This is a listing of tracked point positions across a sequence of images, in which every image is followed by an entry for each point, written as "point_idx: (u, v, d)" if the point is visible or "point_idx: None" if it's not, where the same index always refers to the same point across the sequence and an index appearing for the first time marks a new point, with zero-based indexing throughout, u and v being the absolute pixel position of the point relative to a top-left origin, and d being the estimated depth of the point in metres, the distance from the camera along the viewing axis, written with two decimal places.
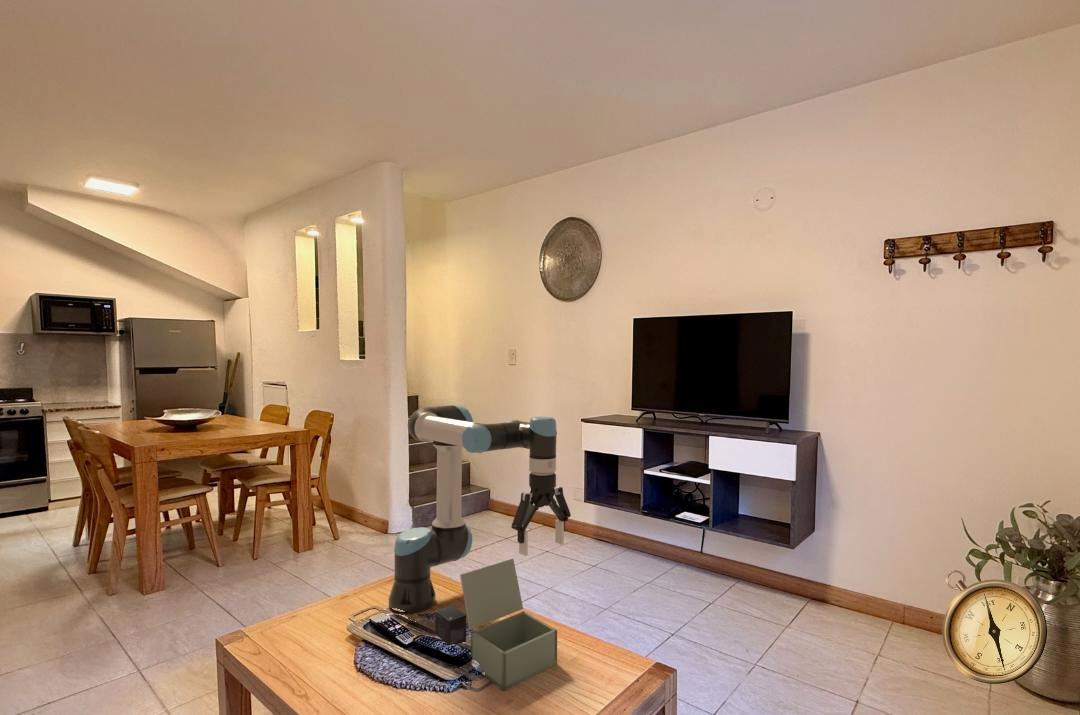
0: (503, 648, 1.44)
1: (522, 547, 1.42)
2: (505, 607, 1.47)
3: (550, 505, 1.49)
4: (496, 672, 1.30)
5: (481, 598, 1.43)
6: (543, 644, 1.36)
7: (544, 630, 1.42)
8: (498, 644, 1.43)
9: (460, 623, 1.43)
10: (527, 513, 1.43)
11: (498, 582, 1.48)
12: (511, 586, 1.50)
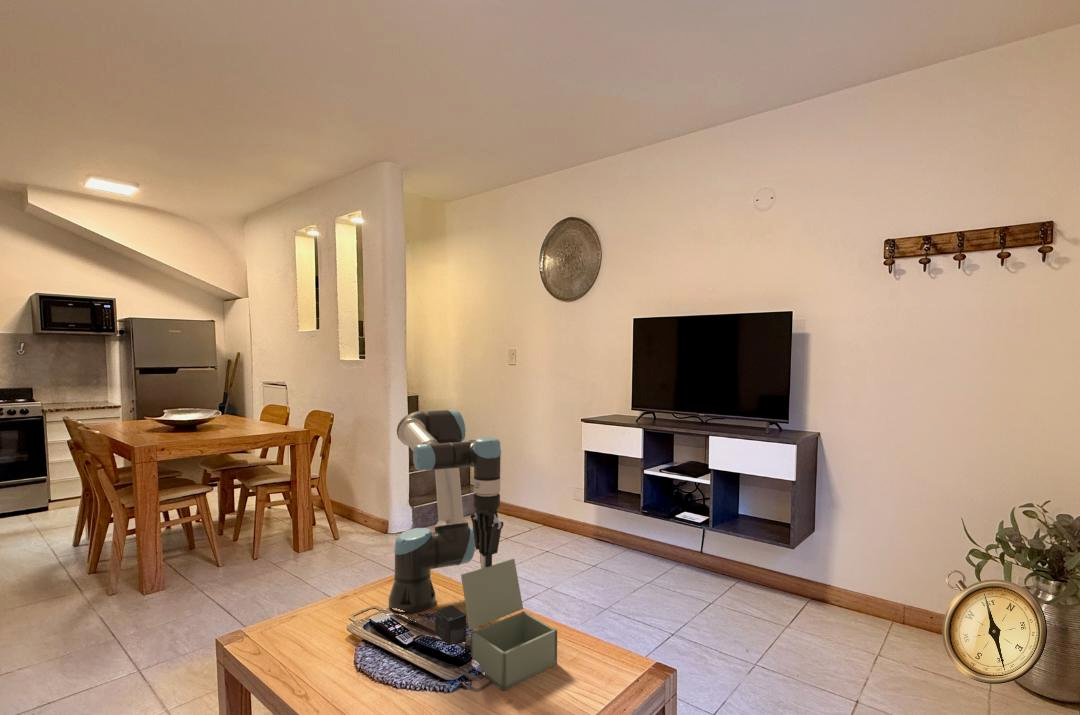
0: (503, 648, 1.44)
1: None
2: (505, 607, 1.47)
3: None
4: (496, 672, 1.30)
5: (481, 598, 1.43)
6: (543, 644, 1.36)
7: (544, 630, 1.42)
8: (498, 644, 1.43)
9: (460, 623, 1.43)
10: None
11: (499, 582, 1.48)
12: (511, 586, 1.50)
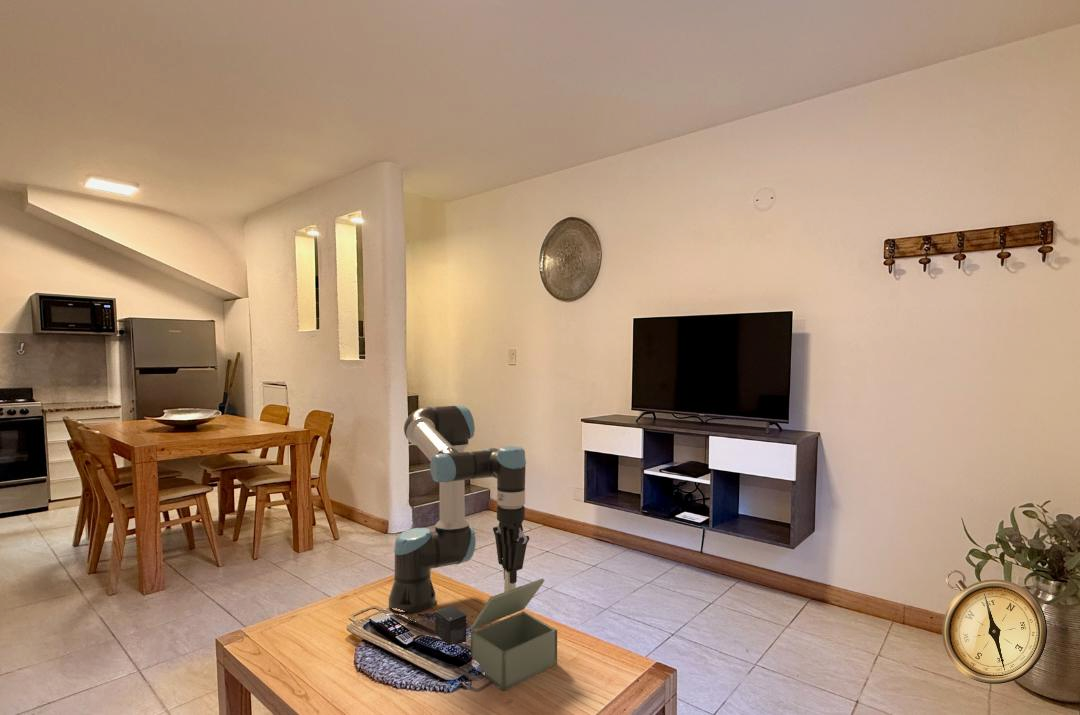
0: (503, 648, 1.44)
1: None
2: (510, 611, 1.45)
3: None
4: (496, 672, 1.30)
5: (495, 610, 1.38)
6: (543, 644, 1.36)
7: (544, 630, 1.42)
8: (498, 644, 1.43)
9: (460, 623, 1.43)
10: None
11: (518, 598, 1.42)
12: (526, 598, 1.45)
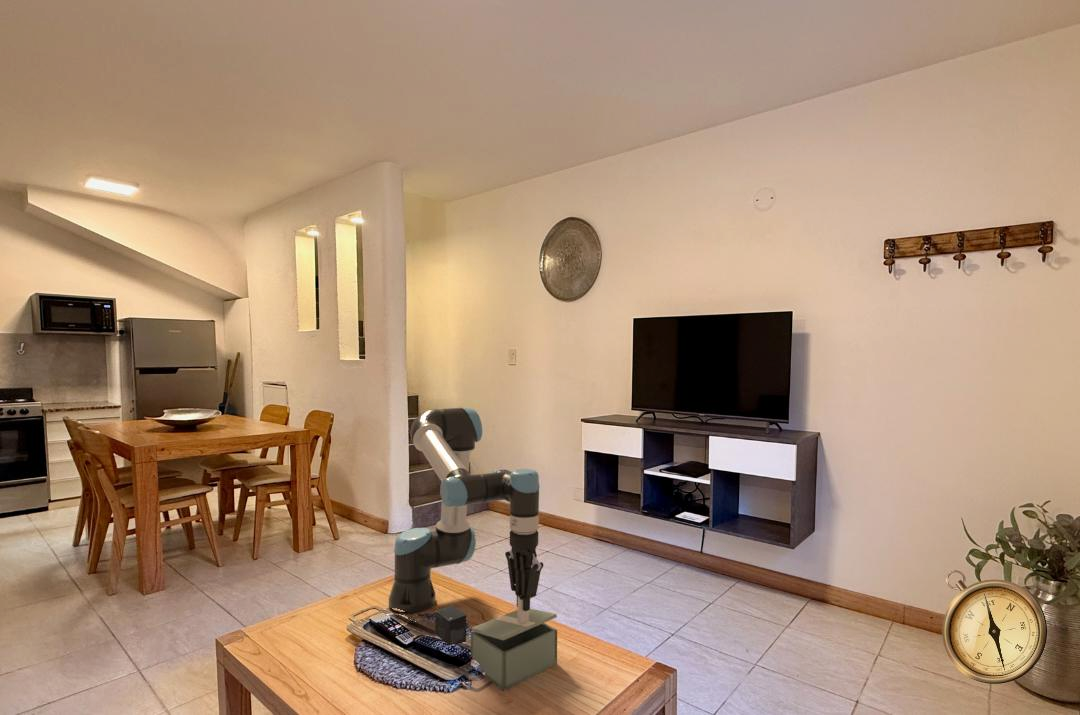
0: (503, 648, 1.44)
1: None
2: None
3: None
4: (496, 672, 1.30)
5: None
6: (543, 644, 1.36)
7: (544, 630, 1.42)
8: (498, 644, 1.43)
9: (460, 623, 1.43)
10: None
11: None
12: None
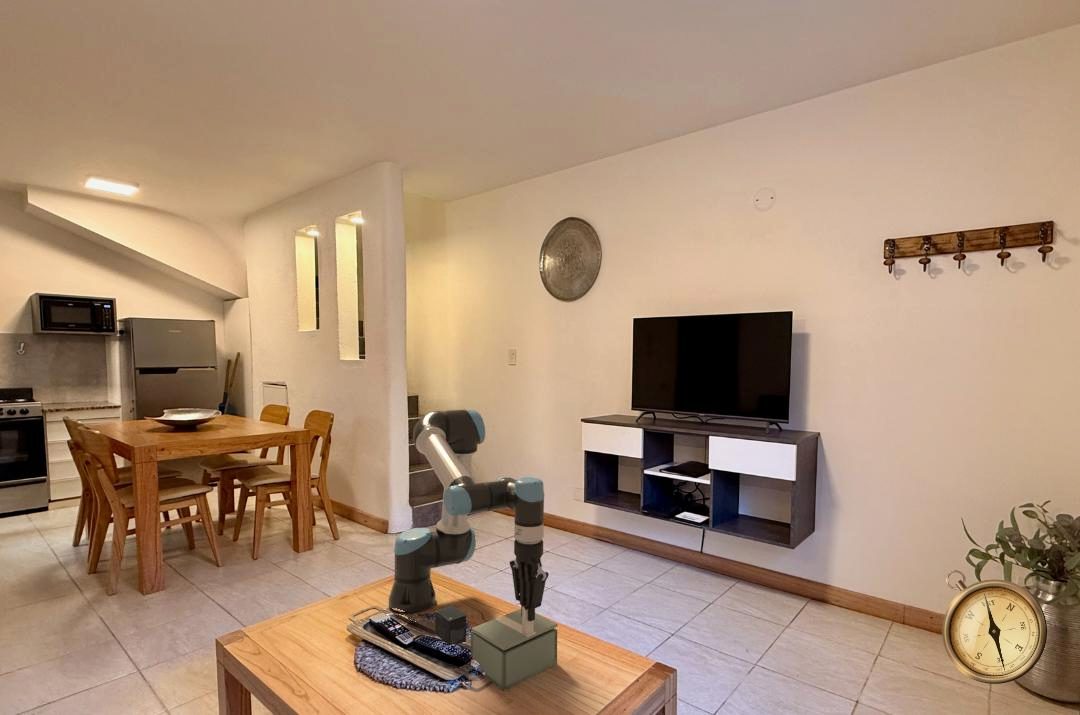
0: None
1: None
2: None
3: None
4: (496, 672, 1.30)
5: None
6: (543, 644, 1.36)
7: None
8: None
9: (460, 623, 1.43)
10: None
11: None
12: None
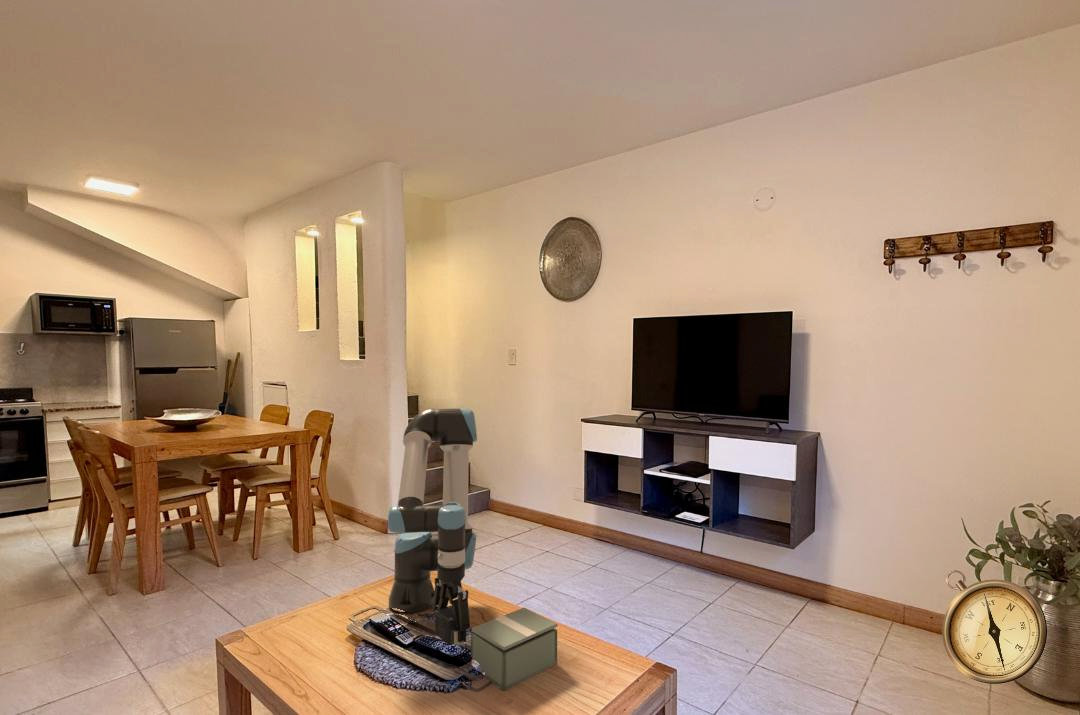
0: None
1: None
2: None
3: None
4: (496, 672, 1.30)
5: None
6: (543, 644, 1.36)
7: None
8: None
9: None
10: None
11: None
12: None
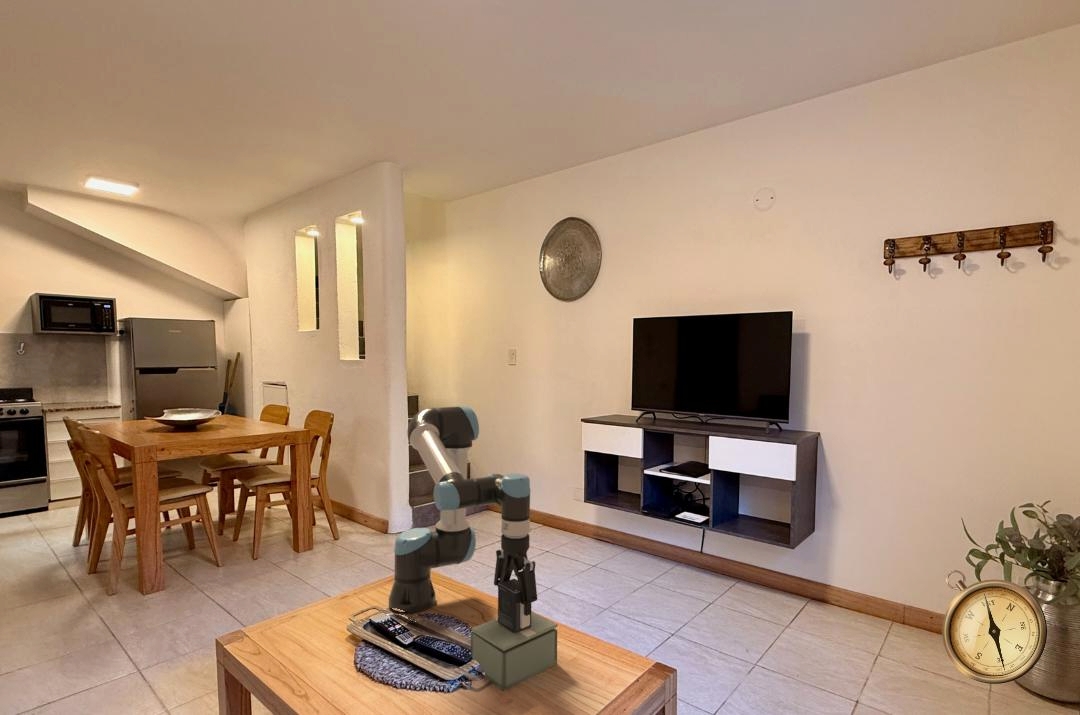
0: None
1: None
2: None
3: None
4: (496, 672, 1.30)
5: None
6: (543, 644, 1.36)
7: None
8: None
9: None
10: None
11: None
12: None
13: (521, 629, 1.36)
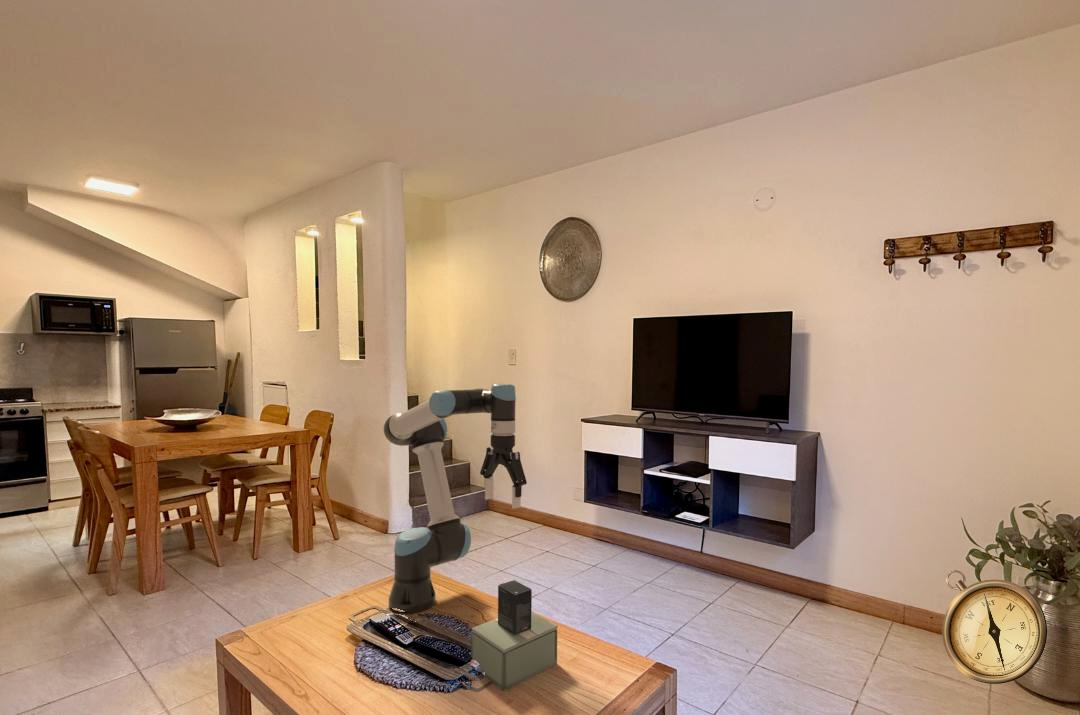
0: None
1: None
2: None
3: None
4: (496, 672, 1.30)
5: None
6: (543, 644, 1.36)
7: None
8: None
9: (525, 598, 1.37)
10: None
11: None
12: None
13: (521, 631, 1.36)
